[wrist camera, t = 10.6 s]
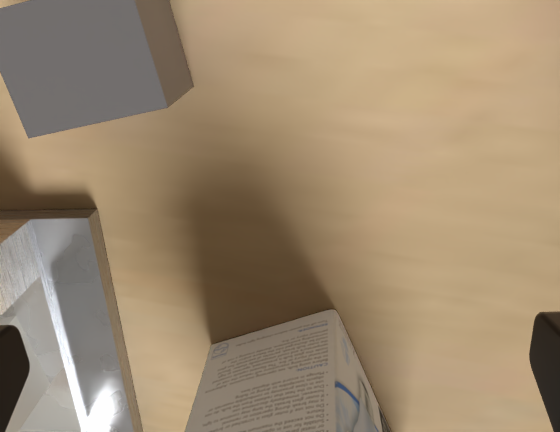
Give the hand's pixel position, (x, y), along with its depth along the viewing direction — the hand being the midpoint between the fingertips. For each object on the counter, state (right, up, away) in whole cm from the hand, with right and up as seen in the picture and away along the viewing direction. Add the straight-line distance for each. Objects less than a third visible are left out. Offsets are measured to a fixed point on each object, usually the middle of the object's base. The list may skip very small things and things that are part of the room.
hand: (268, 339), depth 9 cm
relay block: (-6, +9, +11) cm, 15 cm away
